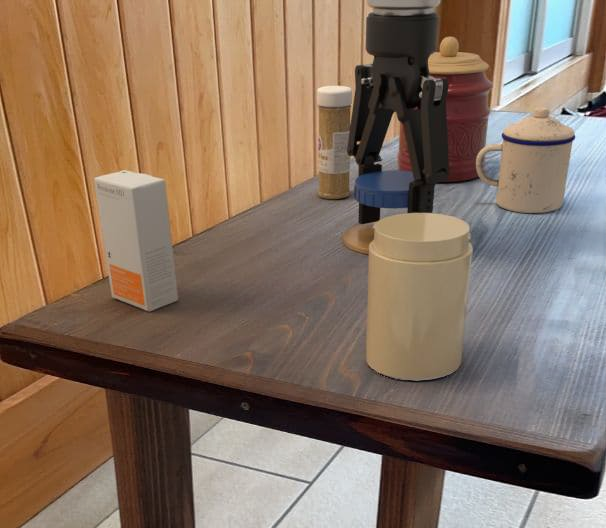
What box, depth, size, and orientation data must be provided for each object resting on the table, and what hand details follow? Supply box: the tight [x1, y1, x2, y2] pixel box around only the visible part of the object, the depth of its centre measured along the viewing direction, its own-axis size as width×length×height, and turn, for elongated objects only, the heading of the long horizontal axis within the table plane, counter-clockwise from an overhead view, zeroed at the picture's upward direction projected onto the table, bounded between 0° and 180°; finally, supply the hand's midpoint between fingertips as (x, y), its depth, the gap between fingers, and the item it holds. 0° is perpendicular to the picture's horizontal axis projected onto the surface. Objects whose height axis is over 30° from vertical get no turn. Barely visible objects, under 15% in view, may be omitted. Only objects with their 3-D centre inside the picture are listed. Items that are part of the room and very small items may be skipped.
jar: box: [365, 212, 474, 379], centre depth 72 cm, size 8×8×12 cm
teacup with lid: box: [476, 106, 576, 214], centre depth 110 cm, size 12×9×12 cm
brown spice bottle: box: [316, 85, 353, 200], centre depth 114 cm, size 5×5×14 cm
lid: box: [353, 170, 414, 209], centre depth 99 cm, size 9×9×2 cm
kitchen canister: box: [396, 36, 494, 183], centre depth 122 cm, size 13×13×18 cm
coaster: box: [342, 221, 378, 256], centre depth 102 cm, size 12×12×1 cm
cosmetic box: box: [93, 169, 179, 313], centre depth 84 cm, size 6×4×12 cm
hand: (392, 231), depth 102 cm, fingers closed on lid, 9 cm apart
